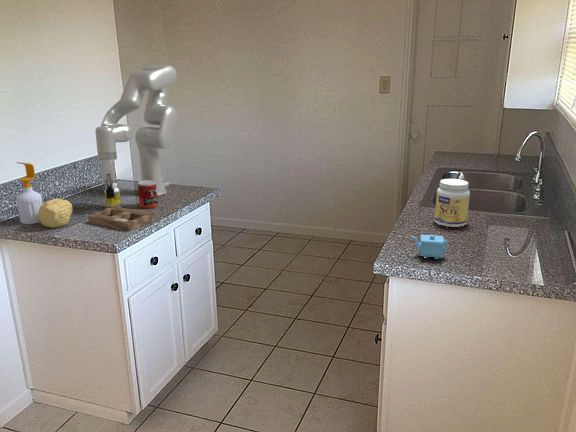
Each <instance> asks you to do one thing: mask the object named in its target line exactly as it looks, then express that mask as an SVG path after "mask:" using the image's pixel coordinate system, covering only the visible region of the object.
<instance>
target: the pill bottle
mask: <svg viewBox="0 0 576 432" xmlns="http://www.w3.org/2000/svg"><path fill="white" fill-rule="evenodd" d="M104 186H105V187H106V183H104ZM113 189H114V195H115V198H107V196H106V188H105V189H104V191H103V193H104V201H105V209H108V208H111V207H114V206H115V207H120V208H122V205H121V195H120V192H121V191H120V189H119V188H118V183H117V182H114V183H113Z"/></svg>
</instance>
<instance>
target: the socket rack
mask: <svg viewBox="0 0 576 432" xmlns="http://www.w3.org/2000/svg"><path fill="white" fill-rule="evenodd" d="M87 221H88V223H89V224H93V225H98V226H103V227H107V228H112V229H115V230H122V231H126V232H131V231H134V230H135V228H136V229H137V227H138V228H141V227H143V226H146V225H148V224H150V222H151V223H153V222H155V213H152V212H147V211H140V210H136V209H135V210H134V209H130V208H124V207H121V208H120V207H115V206H114V207H111V208H108V209H107V208H105V209H103V210H100V211H98V212H94V213H91V214H89V215H87ZM147 223H148V224H147ZM145 224H146V225H145ZM142 225H143V226H142ZM140 226H141V227H140Z"/></svg>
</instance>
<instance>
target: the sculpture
mask: <svg viewBox="0 0 576 432" xmlns="http://www.w3.org/2000/svg"><path fill="white" fill-rule="evenodd" d="M72 213H73V204H72V203H71V202H70V200H67V199H63V198H55V199H54V198H52V199H49V200H47V201H45V202H43V204H42V205H41V206H40V208H39V211H38V218H39V220H40V223H41V225H42V226H44V227H48V228H52V229H54V228H55V229H56V228H58V229H59V228H61V227H64V226H66V225H67V224H68V223H69V221H70V219H71V216H72Z"/></svg>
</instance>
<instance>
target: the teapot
mask: <svg viewBox="0 0 576 432" xmlns="http://www.w3.org/2000/svg"><path fill="white" fill-rule="evenodd" d="M410 237H411V238H412V239H413V240H414V243H415V245H416V248H417V249H419V257H420V256H423V257H428V258H430V257H434V258H439V259H443V258H444V257H443V256H444V254H446V251H447V250H446V248H447V247H448V245H449V243H448V240H446V239H444V236H443V235H435V234H420V241H419V240H418V238H417V237H416V236H412V235H411V236H410ZM423 257H422V258H423ZM434 258H433V259H434Z"/></svg>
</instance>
